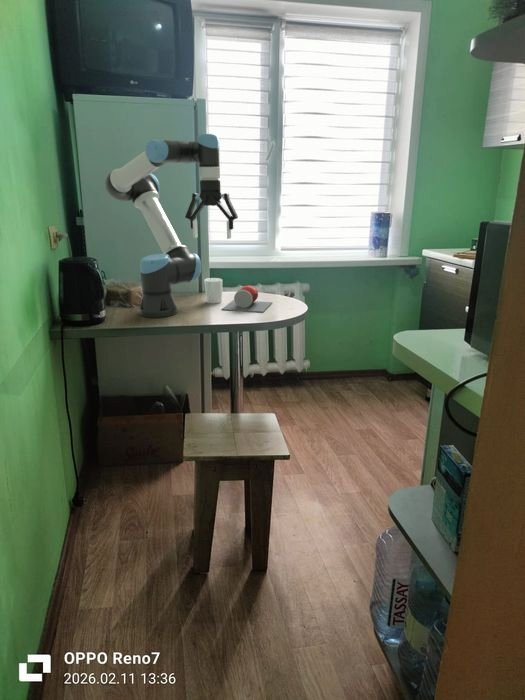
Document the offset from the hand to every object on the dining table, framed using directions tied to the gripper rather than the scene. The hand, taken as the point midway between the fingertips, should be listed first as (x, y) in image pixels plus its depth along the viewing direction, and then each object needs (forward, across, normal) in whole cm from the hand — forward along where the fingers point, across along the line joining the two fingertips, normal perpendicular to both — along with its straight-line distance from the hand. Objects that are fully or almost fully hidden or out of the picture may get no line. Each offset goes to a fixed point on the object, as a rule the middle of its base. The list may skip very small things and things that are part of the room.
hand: (212, 238), depth 190 cm
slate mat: (+31, -9, -16) cm, 36 cm away
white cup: (+31, +8, -21) cm, 38 cm away
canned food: (+26, -8, -23) cm, 36 cm away
